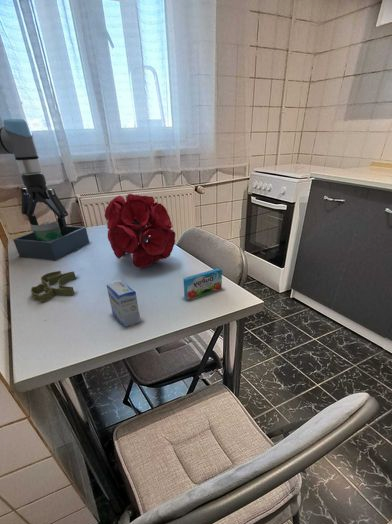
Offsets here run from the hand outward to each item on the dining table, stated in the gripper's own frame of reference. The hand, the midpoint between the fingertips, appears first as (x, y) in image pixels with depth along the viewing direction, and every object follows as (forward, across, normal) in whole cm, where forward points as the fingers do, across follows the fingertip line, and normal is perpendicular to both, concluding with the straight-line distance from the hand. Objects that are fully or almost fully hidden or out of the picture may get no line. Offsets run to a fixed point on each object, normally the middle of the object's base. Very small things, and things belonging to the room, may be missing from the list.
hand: (51, 234), depth 118 cm
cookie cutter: (+6, -26, +31) cm, 41 cm away
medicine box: (+6, -57, +41) cm, 71 cm away
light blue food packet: (+6, -72, +22) cm, 76 cm away
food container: (+6, 0, 0) cm, 6 cm away
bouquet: (+6, -42, +4) cm, 43 cm away
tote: (+6, 0, 0) cm, 6 cm away
